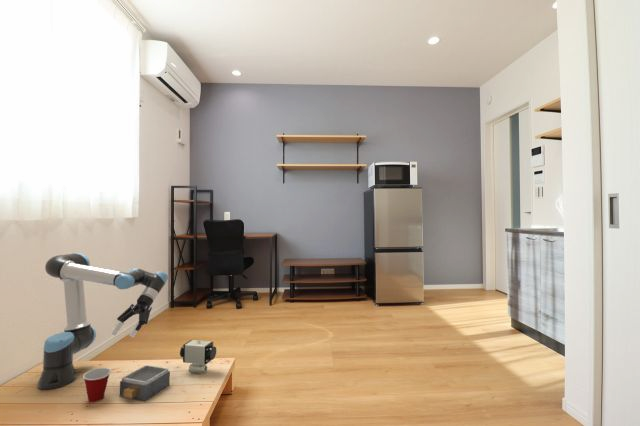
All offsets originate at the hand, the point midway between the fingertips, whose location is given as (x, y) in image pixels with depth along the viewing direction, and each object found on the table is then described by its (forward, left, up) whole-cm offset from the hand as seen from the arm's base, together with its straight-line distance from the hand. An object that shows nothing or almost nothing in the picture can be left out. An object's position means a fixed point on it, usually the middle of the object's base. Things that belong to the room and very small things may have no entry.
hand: (121, 335), depth 155 cm
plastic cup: (-1, -11, -26) cm, 28 cm away
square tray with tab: (+15, -1, -25) cm, 29 cm away
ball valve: (+27, +25, -26) cm, 45 cm away
